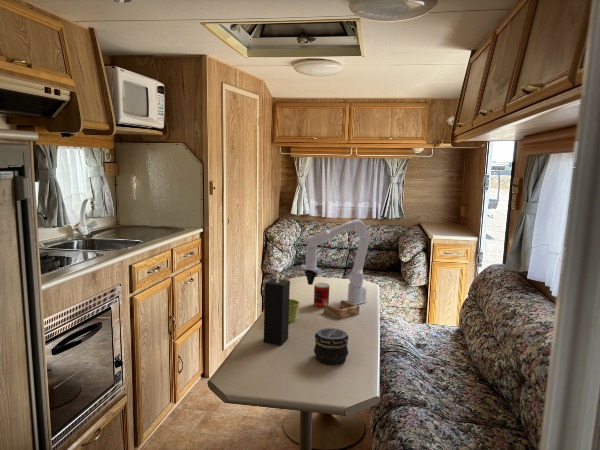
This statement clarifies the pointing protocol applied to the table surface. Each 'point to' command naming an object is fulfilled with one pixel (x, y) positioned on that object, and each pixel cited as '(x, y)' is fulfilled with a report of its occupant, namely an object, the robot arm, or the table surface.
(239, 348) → the table surface
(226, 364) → the table surface
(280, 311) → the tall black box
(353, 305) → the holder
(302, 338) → the table surface
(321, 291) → the canned food
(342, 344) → the container
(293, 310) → the plant pot
